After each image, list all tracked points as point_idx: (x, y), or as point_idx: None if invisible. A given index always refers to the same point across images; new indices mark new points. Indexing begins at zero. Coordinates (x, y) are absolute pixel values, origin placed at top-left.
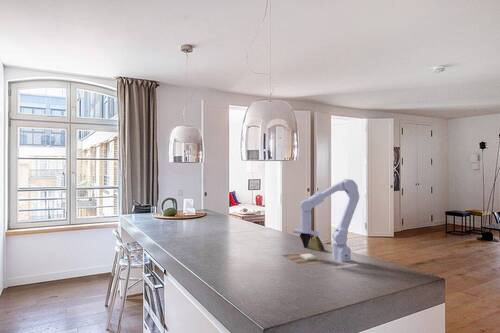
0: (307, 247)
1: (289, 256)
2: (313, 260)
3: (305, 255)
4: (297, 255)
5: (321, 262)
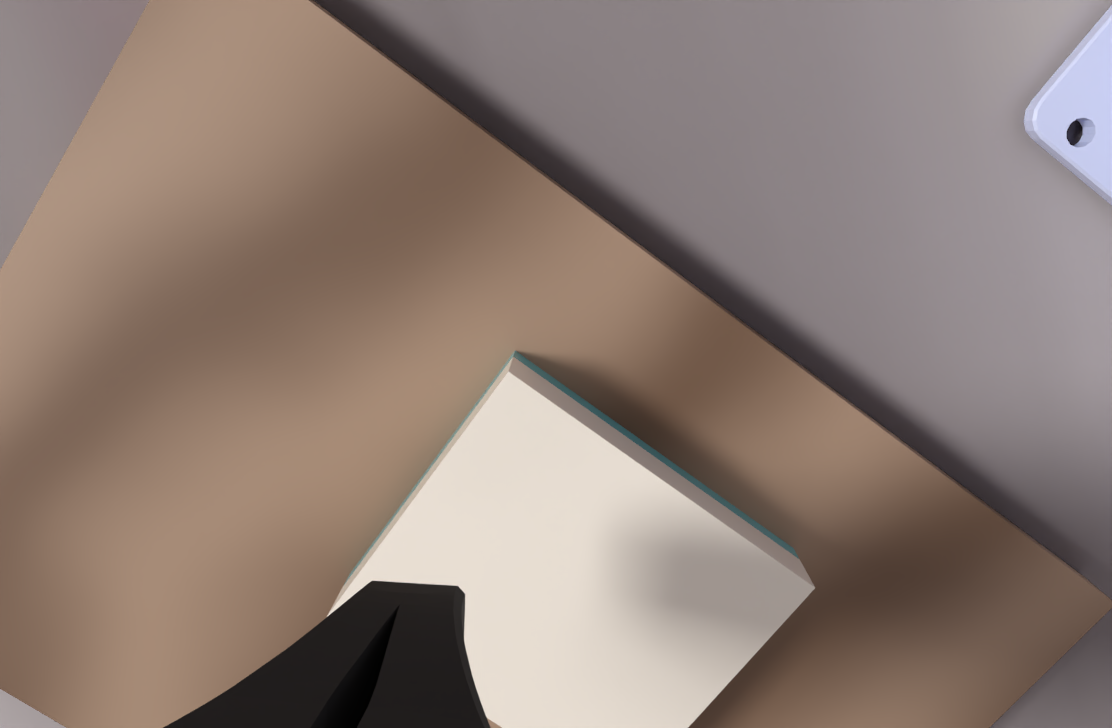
0: (464, 602)
1: (85, 617)
2: None
3: (491, 625)
4: (193, 422)
5: (958, 700)
